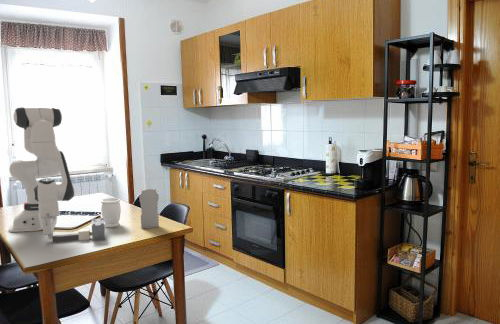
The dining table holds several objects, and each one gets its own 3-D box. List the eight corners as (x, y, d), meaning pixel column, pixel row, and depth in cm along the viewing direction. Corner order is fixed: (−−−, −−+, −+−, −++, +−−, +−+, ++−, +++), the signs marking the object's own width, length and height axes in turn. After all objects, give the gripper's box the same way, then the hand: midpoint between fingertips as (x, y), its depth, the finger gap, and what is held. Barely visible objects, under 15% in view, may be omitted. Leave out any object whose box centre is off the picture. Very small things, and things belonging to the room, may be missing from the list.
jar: (101, 224, 226) (100, 198, 224) (120, 222, 230) (119, 197, 228) (102, 228, 216) (101, 202, 215) (122, 226, 220) (121, 200, 219)
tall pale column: (141, 229, 215) (139, 190, 213) (139, 227, 219) (138, 189, 216) (160, 227, 220) (159, 188, 217) (158, 225, 223) (157, 187, 221)
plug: (52, 243, 193) (51, 234, 192) (53, 240, 197) (53, 231, 196) (93, 238, 199) (93, 230, 198) (93, 236, 203) (93, 228, 203)
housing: (92, 241, 195) (91, 224, 194) (92, 234, 207) (91, 218, 206) (105, 239, 197) (104, 223, 196) (104, 232, 209) (104, 217, 208)
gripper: (53, 216, 184) (55, 244, 185) (58, 206, 203) (59, 232, 204) (38, 217, 182) (40, 246, 183) (44, 207, 201) (46, 233, 202)
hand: (50, 238), depth 194 cm, fingers closed
